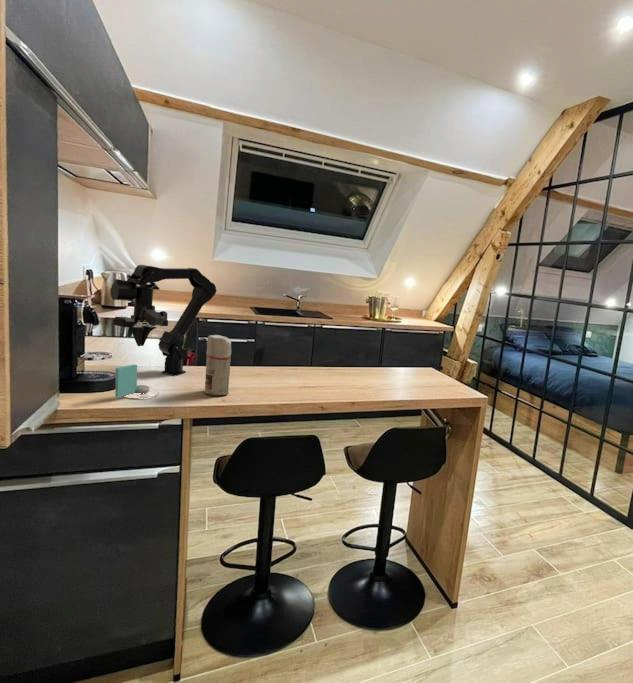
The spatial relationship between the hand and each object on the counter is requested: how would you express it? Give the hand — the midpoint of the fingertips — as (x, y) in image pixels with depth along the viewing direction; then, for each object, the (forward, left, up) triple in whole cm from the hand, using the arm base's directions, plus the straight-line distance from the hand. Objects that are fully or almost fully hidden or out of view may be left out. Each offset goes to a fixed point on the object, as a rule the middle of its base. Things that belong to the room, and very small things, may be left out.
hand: (140, 345), depth 141 cm
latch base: (+11, +12, -12) cm, 20 cm away
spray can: (-4, +30, -12) cm, 32 cm away
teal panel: (+14, +11, -11) cm, 21 cm away
